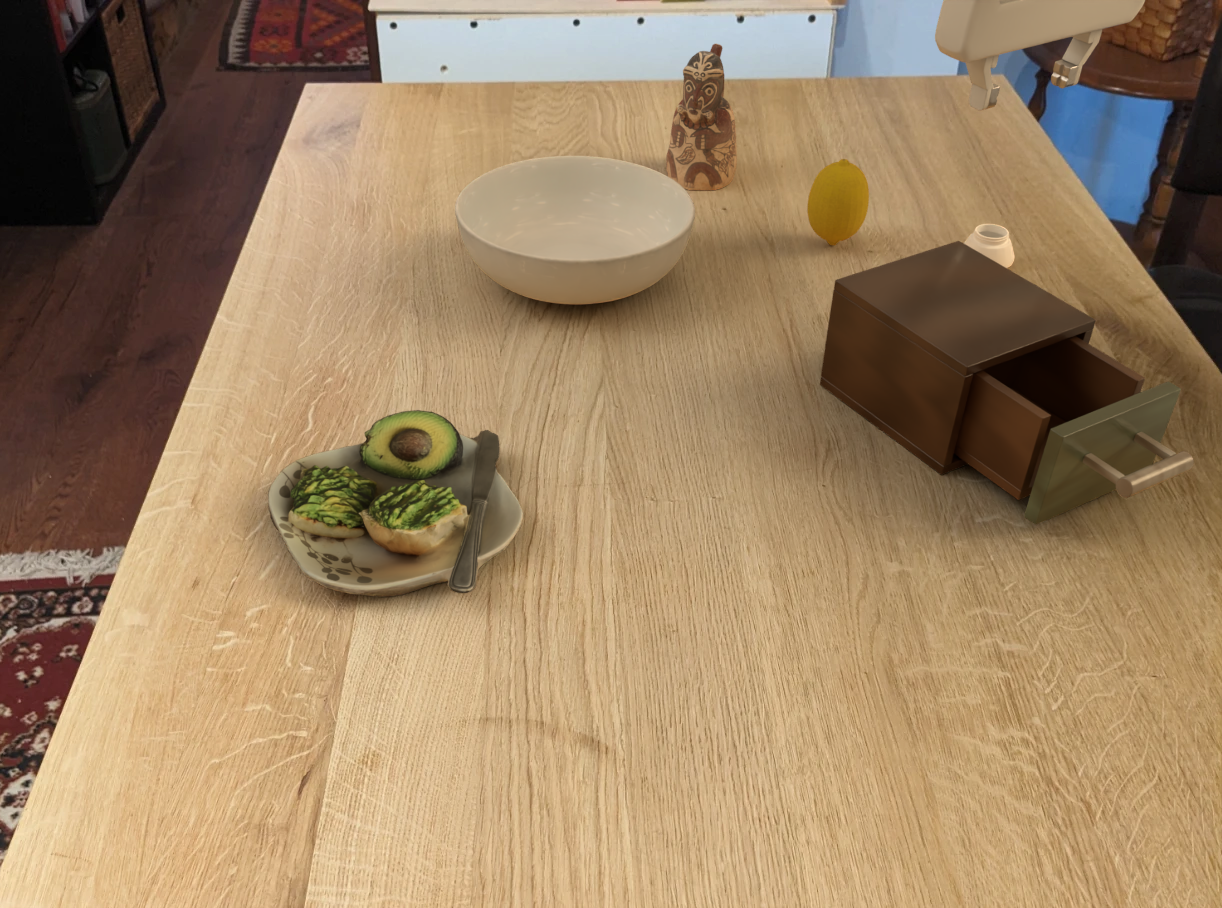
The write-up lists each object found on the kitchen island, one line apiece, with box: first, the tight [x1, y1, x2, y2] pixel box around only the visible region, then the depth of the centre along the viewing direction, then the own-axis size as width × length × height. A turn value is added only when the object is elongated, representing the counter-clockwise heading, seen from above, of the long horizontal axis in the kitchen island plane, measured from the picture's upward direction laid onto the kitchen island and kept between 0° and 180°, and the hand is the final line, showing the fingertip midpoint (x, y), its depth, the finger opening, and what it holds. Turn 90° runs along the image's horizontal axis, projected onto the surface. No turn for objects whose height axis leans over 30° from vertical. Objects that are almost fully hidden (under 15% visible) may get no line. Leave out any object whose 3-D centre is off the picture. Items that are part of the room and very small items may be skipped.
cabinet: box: [819, 240, 1096, 476], centre depth 98 cm, size 15×13×9 cm
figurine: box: [665, 43, 738, 191], centre depth 127 cm, size 7×7×12 cm
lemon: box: [806, 158, 870, 246], centre depth 118 cm, size 6×6×8 cm
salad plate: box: [267, 409, 524, 598], centre depth 89 cm, size 19×18×5 cm
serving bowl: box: [454, 155, 696, 305], centre depth 113 cm, size 21×21×7 cm
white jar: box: [963, 223, 1016, 269], centre depth 117 cm, size 5×3×5 cm
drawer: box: [954, 336, 1195, 526], centre depth 92 cm, size 18×11×7 cm, turn 31°
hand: (1022, 96), depth 108 cm, fingers open, 8 cm apart
